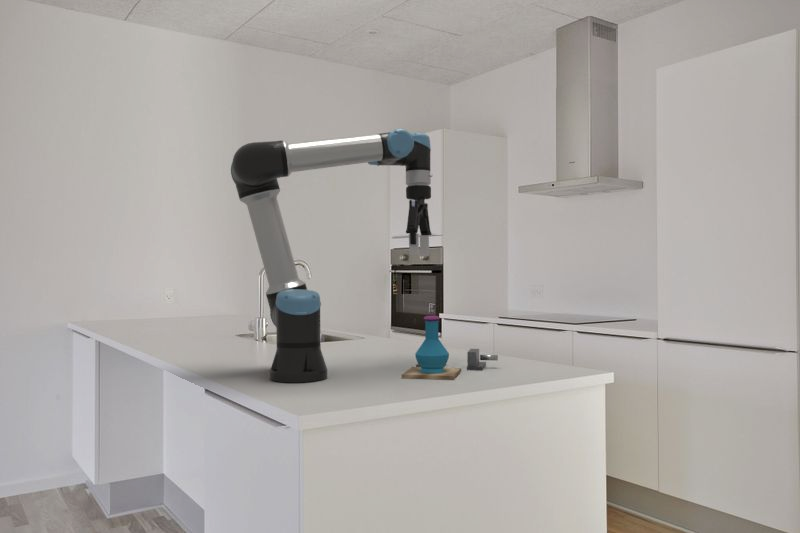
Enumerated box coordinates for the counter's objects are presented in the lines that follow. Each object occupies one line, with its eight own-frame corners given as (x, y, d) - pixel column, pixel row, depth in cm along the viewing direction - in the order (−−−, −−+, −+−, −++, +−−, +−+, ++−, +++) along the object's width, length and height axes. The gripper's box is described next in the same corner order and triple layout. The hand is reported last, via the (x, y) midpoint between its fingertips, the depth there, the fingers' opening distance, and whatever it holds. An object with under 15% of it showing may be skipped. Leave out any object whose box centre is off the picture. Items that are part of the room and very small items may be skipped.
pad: (401, 378, 178) (401, 374, 178) (412, 370, 191) (412, 366, 191) (453, 379, 174) (453, 376, 174) (461, 371, 188) (461, 367, 188)
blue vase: (427, 367, 189) (426, 314, 189) (455, 370, 184) (454, 315, 184) (408, 371, 182) (408, 316, 182) (437, 374, 176) (436, 317, 176)
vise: (416, 368, 194) (415, 351, 194) (422, 363, 204) (422, 347, 204) (496, 370, 189) (496, 353, 189) (499, 365, 199) (499, 348, 199)
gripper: (420, 180, 189) (422, 255, 189) (439, 189, 213) (440, 256, 213) (395, 181, 191) (396, 256, 191) (416, 190, 215) (417, 256, 215)
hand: (419, 256), depth 202 cm, fingers open, 13 cm apart
